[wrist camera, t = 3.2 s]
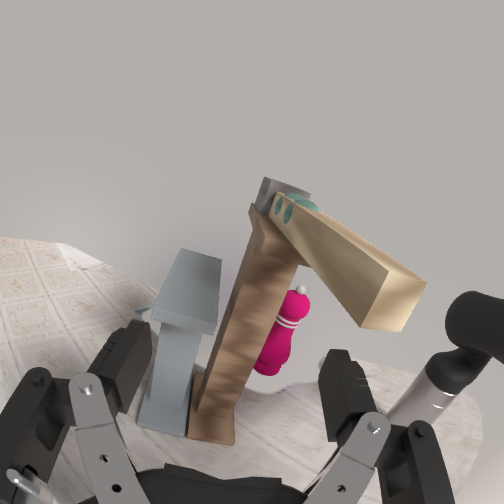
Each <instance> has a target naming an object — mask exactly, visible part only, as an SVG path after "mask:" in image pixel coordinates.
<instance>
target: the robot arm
mask: <svg viewBox="0 0 504 504" xmlns="http://www.w3.org/2000/svg"><path fill="white" fill-rule="evenodd" d="M445 329H446V333H447V336H448V338H449V340H450V341H451V342H452V343H453V344H455V345H456V346H458V347H459V348H458V349H456V350H453V351H449V352H440V353H436V354H434V355H433V356H432V357H431V359H430V360H429V361H428V363H427V364H426V366H425V367H424V368H423V370H422V371H421V372H420V374H419V375H418V376H417V378H416V379H415V380H414V382H413V383H412V384H411V386H410V387H409V388H408V389H407V391H406V392H405V393H404V394H403V395H402V397H401V398H400V399H399V400H398V401H397V403H396V404H395V405H394V406H393V407H392V408H391V410H390V411H389V412H388V413H387V414H386V415H385V416H384V415H383V414H381V413H378V412H377V409H376V406H375V403H374V400H373V397H372V394H371V391H370V388H369V387H368V382H367V379H366V376H365V374H364V371H363V369H362V367H361V366H360V365H359V364H358V363H357V362H356V361H351V359H350V356H349V353H348V351H347V350H341V349H330V350H329V352H328V354H327V357H326V359H325V361H324V364H323V366H322V368H321V370H320V373H319V379H318V384H319V390H320V395H321V401H322V407H323V413H324V419H325V425H326V431H327V437H328V442H337V445H338V447H337V448H336V449H335V451H334V452H333V454H332V455H331V457H330V458H329V459H328V461H327V462H326V464H325V465H324V466H323V468H322V469H321V470H320V472H319V473H318V474H317V476H316V477H315V478H314V479H313V480H312V481H311V483H310V484H309V485H308V486H307V487H306V488H305V489H304V490H303V492H301V491H299V490H297V489H295V488H293V487H290V486H287V485H284V484H282V479H281V478H268V477H247V478H239V479H229V480H221V479H218V478H215V477H212V476H210V475H207V474H204V473H202V472H199V471H197V470H194V469H191V468H186V467H181V466H176V465H172V464H168V463H165V466H164V469H150V470H145V471H141V472H138V470H137V468H136V466H135V464H134V462H133V460H132V458H131V455H130V453H129V451H128V449H127V446H126V444H125V442H124V439H123V437H122V434H121V432H120V429H119V427H118V424H117V421H116V419H115V418H116V416H117V414H118V412H121V413H125V414H127V411H128V409H129V407H130V404H131V402H132V400H133V397H134V395H135V393H136V391H137V388H138V386H139V384H140V381H141V379H142V377H143V375H144V373H145V370H146V368H147V366H148V364H149V362H150V359H151V355H152V342H151V332H150V324H149V323H148V322H144V321H139V320H135V319H133V320H131V322H130V323H129V325H128V326H127V328H126V329H125V328H119V329H118V330H116V331H115V332H113V333H112V334H111V336H110V337H109V338H108V340H107V343H105V344H104V346H103V349H101V350H100V352H99V353H98V355H97V357H96V358H95V360H94V361H93V363H92V364H91V366H90V367H89V369H88V371H87V372H84V373H79V374H77V375H75V376H74V377H73V378H72V379H71V380H70V379H59V378H52V376H51V374H50V372H49V371H48V370H47V369H45V368H42V367H36V368H33V369H31V370H29V371H28V372H27V373H26V374H25V376H24V377H23V379H22V380H21V382H20V383H19V385H18V386H17V388H16V389H15V391H14V393H13V394H12V396H11V397H10V399H9V401H8V402H7V404H6V406H5V407H4V409H3V411H2V413H1V414H0V504H53V494H52V491H51V489H50V487H49V486H48V485H47V483H48V481H49V478H50V475H51V472H52V470H53V467H54V464H55V462H56V459H57V456H58V454H59V451H60V449H61V446H62V444H63V442H64V439H65V437H66V435H67V432H68V430H69V428H70V426H77V430H75V435H76V439H77V443H78V446H79V450H80V453H81V456H82V460H83V463H84V466H85V469H86V472H87V474H88V477H89V480H90V483H91V485H92V488H93V490H94V493H95V496H93V497H91V498H89V499H87V500H85V501H82V502H80V503H78V504H357V502H358V500H359V499H360V497H361V496H362V494H363V492H364V491H365V489H366V487H367V485H368V484H369V482H370V480H371V478H372V476H373V474H374V472H375V469H374V468H373V467H377V469H378V475H379V482H380V488H381V495H382V503H383V504H455V501H454V497H453V493H452V489H451V485H450V481H449V477H448V474H447V470H446V467H445V463H444V460H443V457H442V454H441V450H440V447H439V444H438V441H437V438H436V435H435V433H434V430H433V428H432V426H431V425H432V424H433V423H434V422H435V421H436V420H437V418H438V417H439V416H440V415H441V414H442V413H443V412H444V411H445V410H446V409H447V407H448V406H449V405H450V404H451V403H452V402H453V400H454V399H455V398H456V397H457V396H458V394H459V393H460V392H461V391H462V390H463V388H465V387H466V386H467V385H469V384H470V383H472V382H473V381H474V380H475V379H476V378H477V376H478V375H479V374H480V372H481V371H482V370H483V368H484V367H485V366H486V365H487V363H488V362H489V361H490V359H491V358H492V357H494V358H496V359H497V360H498V361H500V362H501V363H502V364H504V299H500V298H495V297H492V296H488V295H485V294H482V293H479V292H476V291H468V292H465V293H463V294H461V295H460V296H459V297H457V298H456V299H455V300H454V302H453V303H452V304H451V306H450V307H449V309H448V311H447V315H446V320H445Z"/></svg>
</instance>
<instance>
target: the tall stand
mask: <svg viewBox="0 0 504 504" xmlns="http://www.w3.org/2000/svg"><path fill="white" fill-rule="evenodd" d="M254 205H255V204H254V203H251V206H250V209H249V212H248V213H249V216H250V220H251V223H252V227H253V231H252V234H251V237H250V240H249V243H248V246H247V249H246V252H245V255H244V257H243V260H242V264H241V266H240V269H239V272H238V275H237V278H236V281H235V284H234V287H233V290H232V293H231V296H230V299H229V302H228V305H227V308H226V311H225V314H224V317H223V320H222V323H221V326H220V329H219V331H218V334H217V337H216V341H215V343H214V347H213V349H212V352H211V356H210V358H209V361H208V364H207V367H206V370H205V373H199V372H195V374H194V379H193V387H192V395H191V404H190V413H189V422H188V431H187V438H189V439H194V440H200V441H205V442H211V443H218V444H225V445H233V444H234V443H235V431H234V406H235V404H236V402H237V400H238V398H239V396H240V394H241V392H242V390H243V388H244V386H245V384H246V382H247V379H248V377H249V375H250V373H251V371H252V369H253V367H254V365H255V363H256V361H257V358H258V356H259V354H260V352H261V350H262V348H263V345H264V343H265V341H266V339H267V337H268V334H269V332H270V330H271V328H272V326H273V323H274V321H275V319H276V317H277V314H278V312H279V310H280V307H281V305H282V303H283V300H284V298H285V296H286V293H287V291H288V289H289V286H290V284H291V282H292V279H293V277H294V274H295V272H296V269H297V267H298V265H299V264H300V265H303V266H307V267H310V268H312V267H311V266H310V265H309V264H308V263H307V261H306V260H305V259H304V258H303V257H302V255H301V254H300V253H299V252H298V251H297V249H296V248H295V247H294V246H293V245H292V244H291V242H290V241H289V240H288V239H287V238H286V236H285V235H284V234H283V233H282V232H281V231H280V229H279V228H278V227H277V226H276V225H275V224H274V222H273V221H272V220H271V219H270V218H269V217H268V216H266V215H263V214H260V213H259V212H258V211H257V209H256V208H255V207H254Z"/></svg>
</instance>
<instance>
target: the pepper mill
mask: <svg viewBox="0 0 504 504" xmlns="http://www.w3.org/2000/svg"><path fill="white" fill-rule="evenodd" d="M305 291H306V289H305V287H304V286H303V285H298V286H297V288H296V290H288V291H287V293H286V296H285V298H284V300H283V303H282V305H281V307H280V310H279V312H278V314H277V317H276V319H275V322H274V324H273V326H272V328H271V330H270V332H269V334H268V337H267V339H266V341H265V343H264V345H263V348H262V350H261V352H260V354H259V356H258V358H257V361H256V363H255V365H254V367H253V368H254V369H255V370H256V371H257V372H258V373H260V374H262V375H267V376H273V375H275V374H277V373H278V372H279V370H280V368H281V365H282V364H284V363H285V362H286V361H287V360H288V358H289V355H290V350H291V336H292V334H293V331H294V329H295V328H297V327H298V326H299V323H300V322H301V319H302V318H304V317H305V316H306V315H307V313H308V312H309V309H310V301H309V299H308V298H307V296H306V295H305V294H304V293H305Z"/></svg>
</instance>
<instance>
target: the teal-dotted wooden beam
mask: <svg viewBox="0 0 504 504" xmlns="http://www.w3.org/2000/svg"><path fill="white" fill-rule="evenodd" d="M310 195H311V194H310V193H308V192H306V191H304V190H301V189H299V188H296V187H293V186H291V185H288V184H285V183H282V182H279V181H276V180H273V179H270V178H267V177H264V179H263V182H262V185H261V188H260V190H259V194H258V196H257V199H256V202H255V205H254V207H255V208H256V209H257V211H258V212H259V213H260V214H263V215H266V216H268V217H269V218H270V219H271V220H272V221H273V222H274V224H275V225H276V226H277V227H278V228H279V229H280V231H281V232H282V233H283V234H284V235H285V236H286V238H287V239H288V240H289V241H290V242H291V244H292V245H293V246H294V247H295V248H296V249H297V251H298V252H299V253H300V254H301V255H302V257H303V258H304V259H305V260H306V261H307V263H308V264H309V265H310V266H311V267H312V269H313V270H314V271H315V272H316V274H317V275H318V276H319V277H320V278H321V280H322V281H323V282H324V283H325V285H326V286H327V287H328V288H329V289H330V291H331V292H332V293H333V294H334V296H335V297H336V298H337V299H338V301H339V302H340V303H341V304H342V306H343V307H344V308H345V309H346V311H347V312H348V313H349V314H350V316H351V317H352V318H353V320H354V321H355V322H356V323H357V325H358V326H359V327H360V328H366V329H374V330H384V331H393V332H400V331H401V330H402V328H403V326H404V325H405V323H406V321H407V320H408V318H409V316H410V314H411V312H412V311H413V309H414V307H415V305H416V303H417V302H418V300H419V298H420V295H421V294H422V292H423V290H424V288H425V286H426V284H427V283H426V282H425V281H423V280H422V279H420V278H419V277H418V276H417V275H415V274H414V273H412V272H411V271H410V270H408V269H407V268H405V267H404V266H403V265H401V264H400V263H398V262H397V261H396V260H394V259H393V258H391V257H390V256H388V255H387V254H386V253H384V252H383V251H381V250H380V249H378V248H377V247H375V246H374V245H372V244H371V243H369V242H368V241H366V240H365V239H363V238H362V237H360V236H359V235H357V234H356V233H354V232H352V231H351V230H349V229H348V228H346V227H345V226H343V225H342V224H340V223H338V222H337V221H335V220H334V219H332V218H330V217H329V216H327V215H326V214H324V213H322V212H321V211H319V208H318V207H317V206H316V205H315V204H314V203H313V202H311V201H309V198H310Z"/></svg>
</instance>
